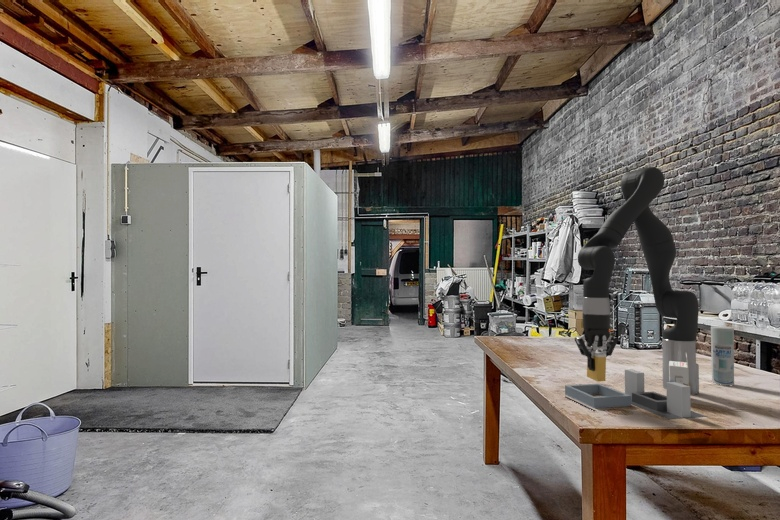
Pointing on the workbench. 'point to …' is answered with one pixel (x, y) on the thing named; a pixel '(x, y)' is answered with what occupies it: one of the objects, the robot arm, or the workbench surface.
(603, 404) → the tray
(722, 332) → the spray can
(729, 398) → the workbench surface
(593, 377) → the block
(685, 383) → the ink cartridge box
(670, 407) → the fuse block
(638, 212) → the robot arm
